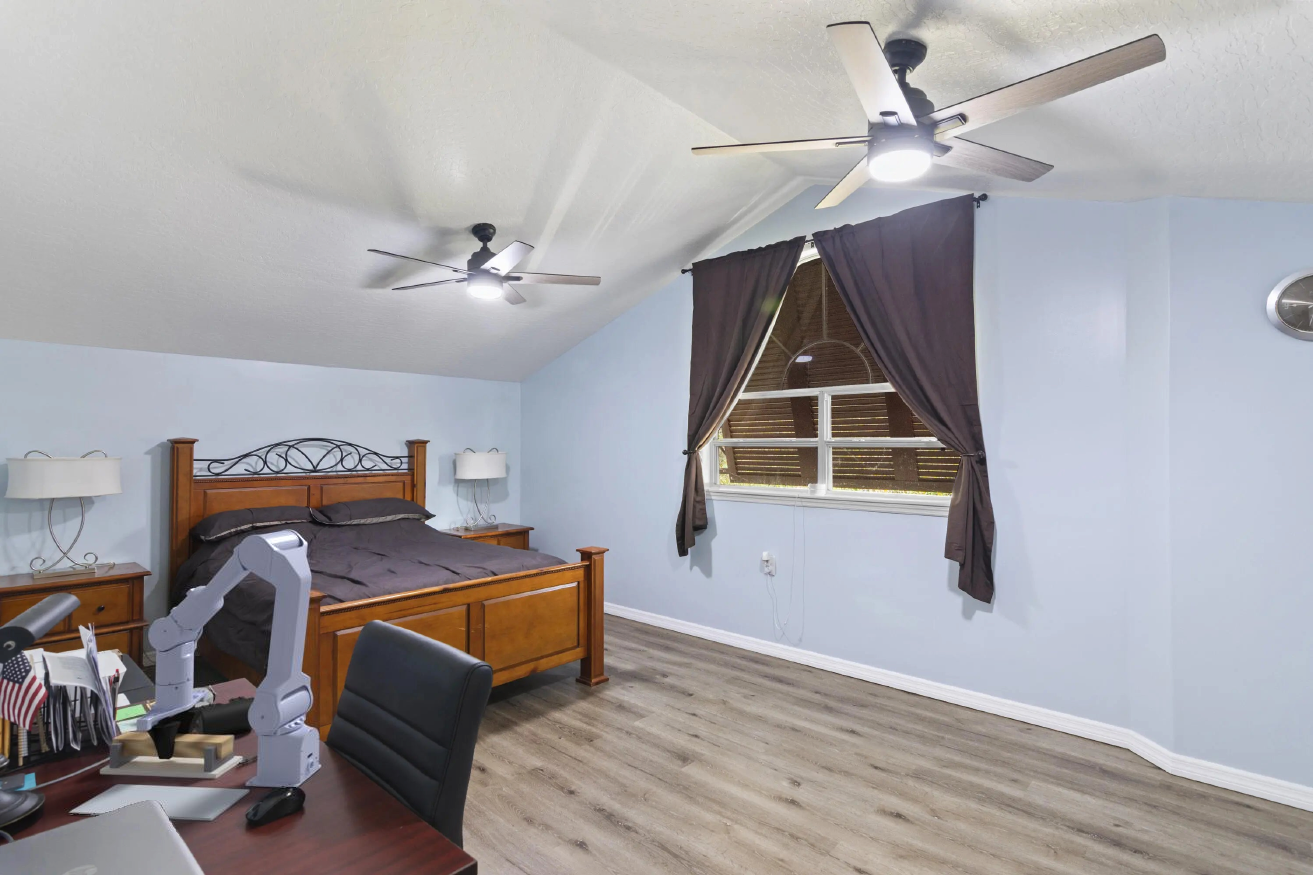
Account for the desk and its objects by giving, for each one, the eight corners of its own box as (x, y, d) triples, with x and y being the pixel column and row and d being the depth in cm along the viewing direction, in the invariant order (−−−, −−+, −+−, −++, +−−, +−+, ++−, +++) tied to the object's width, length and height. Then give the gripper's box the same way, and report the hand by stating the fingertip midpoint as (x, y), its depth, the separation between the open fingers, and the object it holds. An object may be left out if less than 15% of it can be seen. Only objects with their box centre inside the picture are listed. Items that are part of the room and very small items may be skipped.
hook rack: (242, 760, 127) (243, 733, 127) (216, 778, 120) (216, 750, 120) (132, 756, 128) (133, 729, 129) (99, 773, 121) (100, 745, 122)
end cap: (202, 748, 132) (203, 714, 132) (192, 738, 137) (192, 704, 137) (258, 732, 140) (259, 700, 140) (246, 723, 144) (247, 691, 144)
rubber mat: (249, 791, 116) (249, 789, 116) (211, 820, 107) (211, 817, 107) (117, 786, 117) (117, 783, 117) (69, 814, 108) (69, 811, 108)
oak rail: (232, 751, 125) (233, 735, 125) (221, 759, 122) (221, 742, 122) (126, 747, 126) (126, 731, 127) (112, 754, 123) (112, 738, 124)
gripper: (184, 666, 132) (182, 736, 132) (120, 693, 118) (118, 771, 117) (218, 667, 132) (216, 737, 131) (159, 694, 117) (157, 773, 117)
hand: (173, 753), depth 124 cm, fingers closed on oak rail, 3 cm apart
